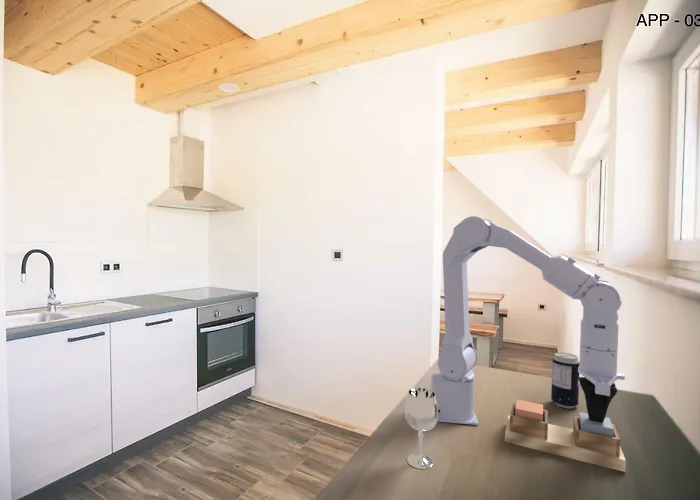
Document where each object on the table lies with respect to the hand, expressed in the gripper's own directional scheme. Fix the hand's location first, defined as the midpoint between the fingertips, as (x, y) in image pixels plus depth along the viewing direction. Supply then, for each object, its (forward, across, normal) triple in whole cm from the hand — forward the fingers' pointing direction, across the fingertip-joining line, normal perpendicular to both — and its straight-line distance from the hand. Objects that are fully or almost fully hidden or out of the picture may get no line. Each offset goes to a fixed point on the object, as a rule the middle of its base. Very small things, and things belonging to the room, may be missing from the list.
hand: (595, 420), depth 68 cm
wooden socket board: (+6, 0, +6) cm, 8 cm away
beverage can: (+6, +22, +4) cm, 23 cm away
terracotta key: (+3, 0, +11) cm, 11 cm away
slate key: (+3, 0, 0) cm, 3 cm away
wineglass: (+6, -19, +28) cm, 34 cm away
